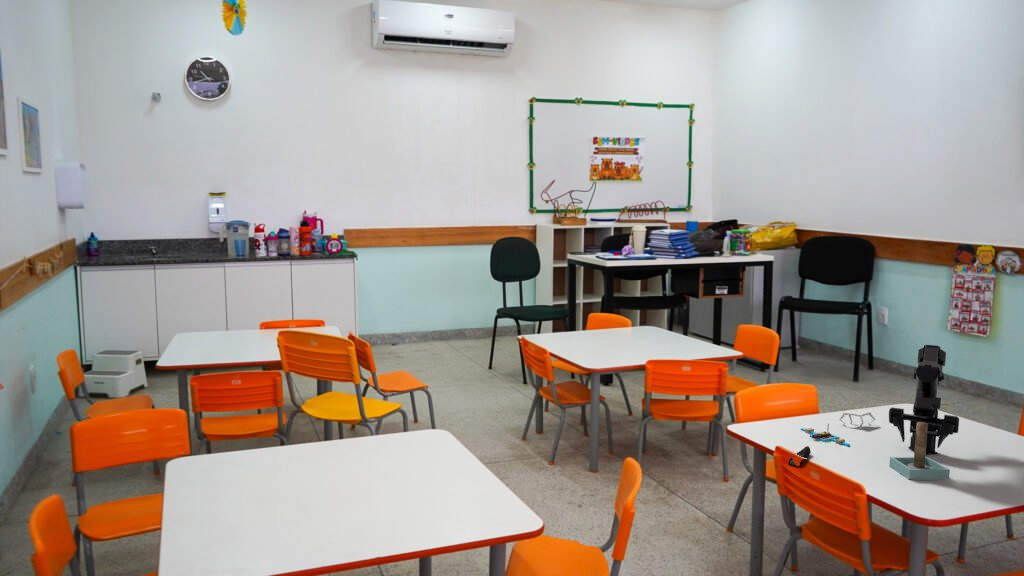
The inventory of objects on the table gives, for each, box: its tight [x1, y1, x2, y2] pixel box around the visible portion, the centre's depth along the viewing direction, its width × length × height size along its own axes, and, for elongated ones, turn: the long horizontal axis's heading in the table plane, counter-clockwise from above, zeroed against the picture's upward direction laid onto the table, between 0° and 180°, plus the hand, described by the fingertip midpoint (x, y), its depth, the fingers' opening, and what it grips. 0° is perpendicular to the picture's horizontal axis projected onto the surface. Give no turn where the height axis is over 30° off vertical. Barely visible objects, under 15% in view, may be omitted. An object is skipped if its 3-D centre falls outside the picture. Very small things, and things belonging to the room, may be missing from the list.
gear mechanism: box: [800, 422, 851, 447], centre depth 259 cm, size 20×5×9 cm
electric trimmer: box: [787, 445, 811, 468], centre depth 237 cm, size 4×15×3 cm, turn 143°
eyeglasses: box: [838, 410, 876, 430], centre depth 274 cm, size 12×8×5 cm
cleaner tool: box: [908, 422, 930, 469], centre depth 226 cm, size 6×6×15 cm
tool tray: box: [889, 456, 951, 481], centre depth 227 cm, size 12×11×3 cm
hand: (920, 444), depth 225 cm, fingers open, 9 cm apart
